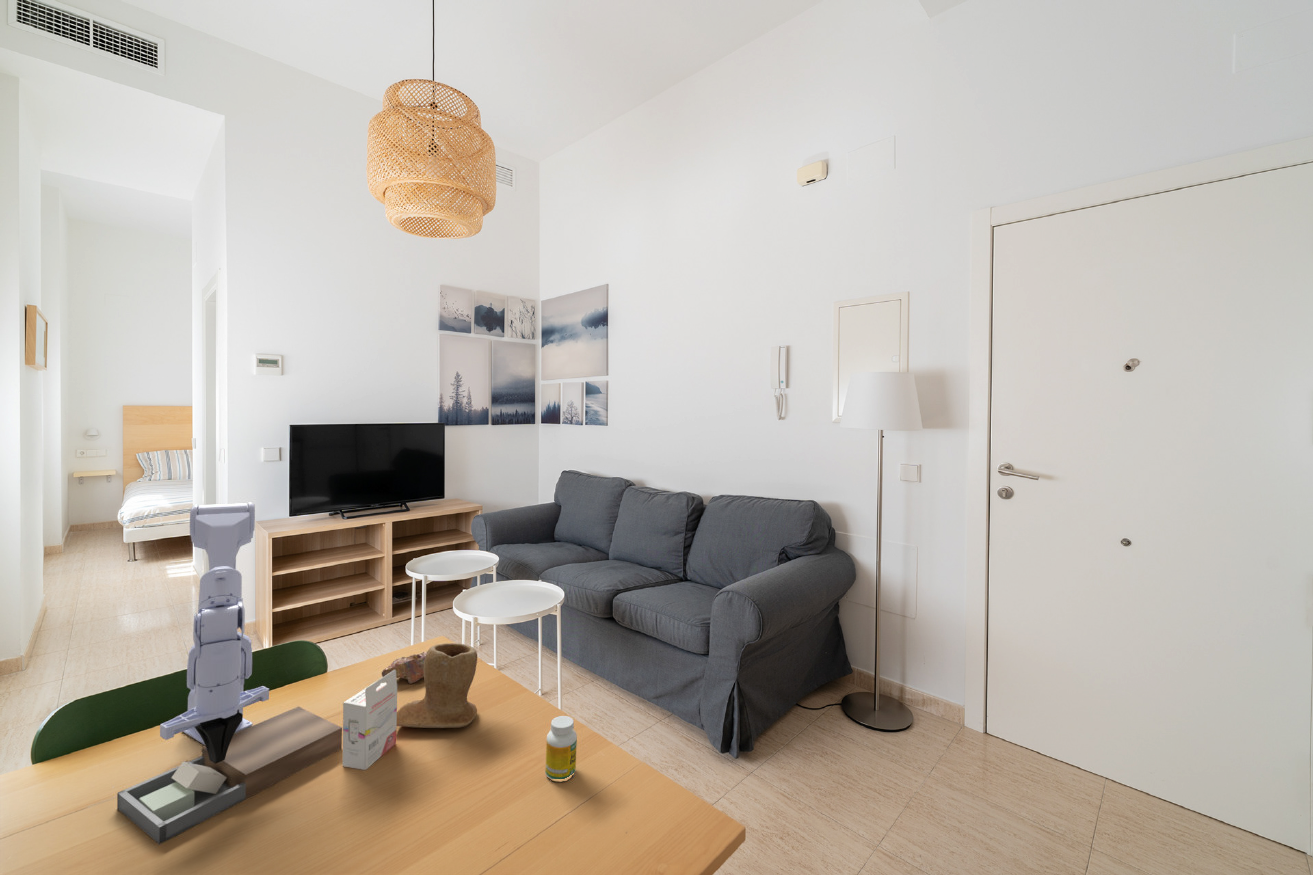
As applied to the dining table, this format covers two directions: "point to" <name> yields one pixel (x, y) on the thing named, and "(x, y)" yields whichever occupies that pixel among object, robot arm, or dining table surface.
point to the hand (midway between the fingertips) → (217, 759)
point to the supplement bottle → (561, 748)
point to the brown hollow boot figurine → (443, 689)
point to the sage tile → (169, 801)
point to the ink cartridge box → (370, 723)
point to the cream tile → (199, 777)
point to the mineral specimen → (408, 667)
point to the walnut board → (276, 749)
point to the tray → (201, 811)
